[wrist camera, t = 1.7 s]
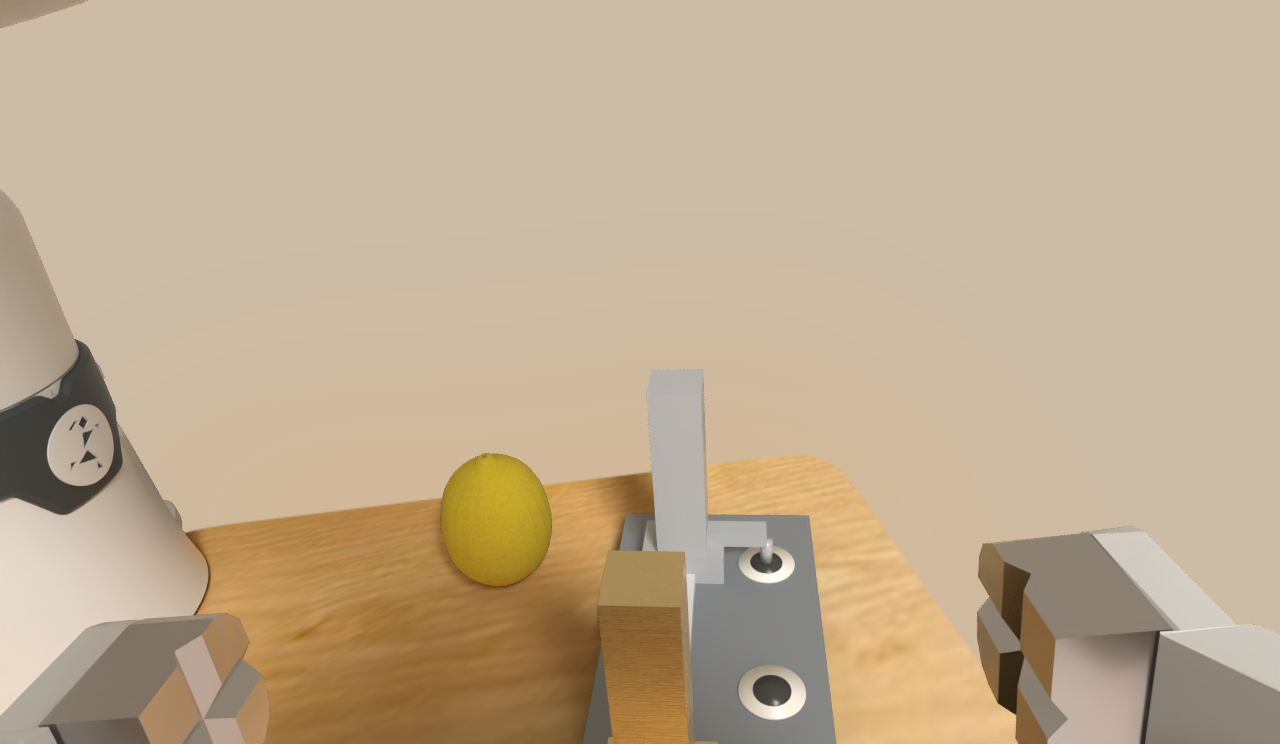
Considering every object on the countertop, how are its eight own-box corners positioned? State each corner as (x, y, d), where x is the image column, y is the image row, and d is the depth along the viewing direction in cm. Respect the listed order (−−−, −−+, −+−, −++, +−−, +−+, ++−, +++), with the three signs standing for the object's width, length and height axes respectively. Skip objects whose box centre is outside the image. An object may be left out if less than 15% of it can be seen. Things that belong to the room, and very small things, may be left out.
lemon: (470, 548, 47) (445, 427, 43) (566, 547, 46) (550, 425, 43) (442, 619, 42) (412, 490, 38) (550, 620, 42) (529, 488, 38)
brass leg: (601, 850, 29) (567, 612, 24) (612, 773, 31) (584, 543, 26) (788, 861, 28) (795, 617, 23) (784, 781, 31) (789, 546, 26)
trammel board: (562, 896, 29) (516, 649, 24) (628, 535, 47) (610, 344, 41) (851, 916, 28) (874, 660, 23) (808, 537, 46) (814, 341, 40)
